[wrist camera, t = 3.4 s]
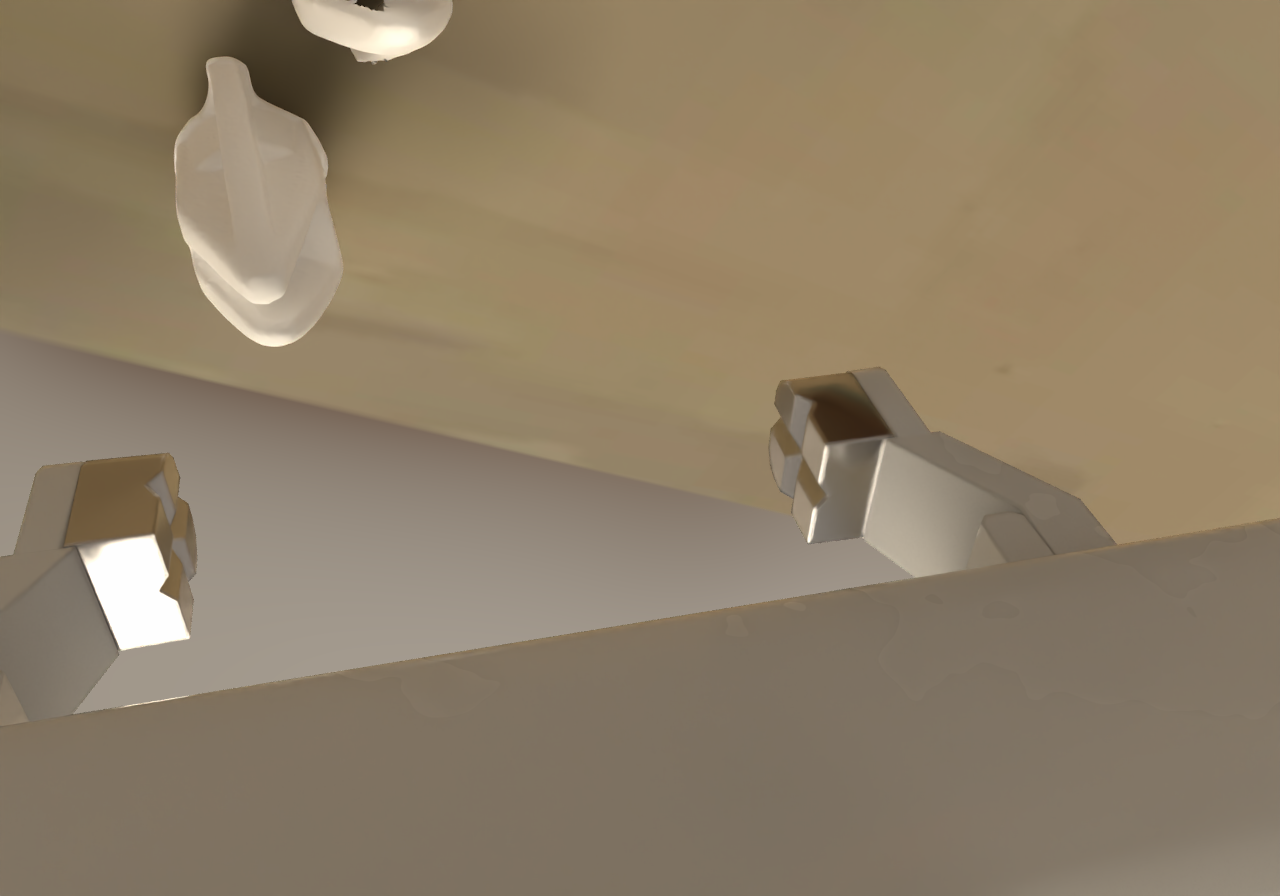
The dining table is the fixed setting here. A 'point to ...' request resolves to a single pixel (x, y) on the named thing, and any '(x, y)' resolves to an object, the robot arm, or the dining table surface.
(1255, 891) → the robot arm
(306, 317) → the shaker set
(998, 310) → the dining table surface
